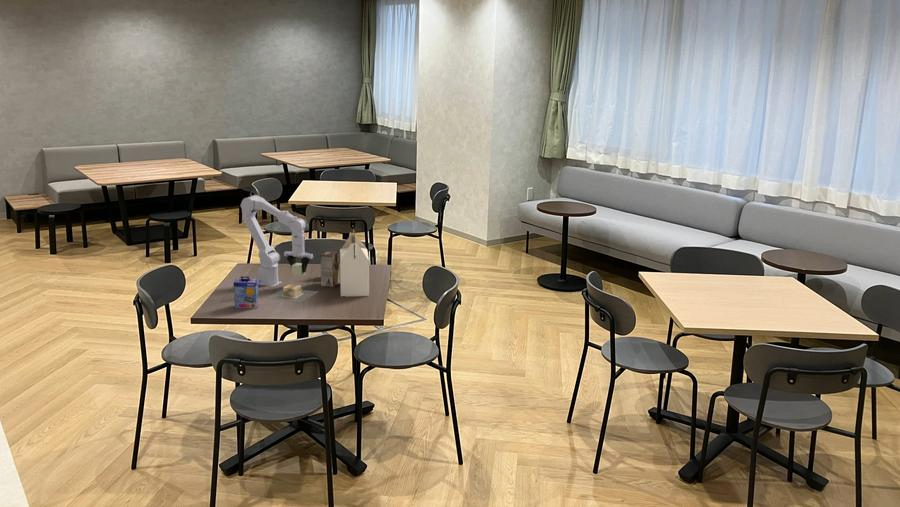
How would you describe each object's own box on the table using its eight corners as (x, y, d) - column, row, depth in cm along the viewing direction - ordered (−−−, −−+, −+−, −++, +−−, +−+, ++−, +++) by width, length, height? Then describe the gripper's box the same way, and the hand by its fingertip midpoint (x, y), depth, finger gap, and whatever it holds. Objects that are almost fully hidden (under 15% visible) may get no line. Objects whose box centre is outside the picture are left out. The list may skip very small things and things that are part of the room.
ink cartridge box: (234, 308, 327) (232, 277, 323) (236, 304, 332) (235, 273, 328) (257, 308, 328) (255, 277, 324) (259, 304, 333) (257, 273, 329)
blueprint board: (265, 299, 340) (265, 297, 340) (285, 288, 357) (285, 287, 357) (300, 304, 335) (300, 302, 335) (318, 292, 352) (318, 291, 352)
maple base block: (283, 295, 344) (283, 287, 343) (289, 292, 350) (289, 284, 349) (295, 297, 342) (294, 289, 341) (301, 293, 348) (301, 285, 347)
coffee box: (327, 281, 370) (326, 250, 366) (339, 282, 369) (339, 251, 365) (320, 286, 361) (320, 254, 357) (333, 287, 360) (332, 255, 356)
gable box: (340, 283, 368) (339, 227, 361) (367, 282, 370) (367, 227, 363) (340, 296, 347) (339, 238, 340) (369, 296, 349) (368, 238, 342)
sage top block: (291, 275, 357) (291, 265, 356) (296, 272, 362) (296, 262, 360) (301, 276, 356) (300, 266, 354) (306, 273, 360) (305, 263, 359)
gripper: (315, 243, 357) (316, 271, 360) (288, 240, 361) (289, 267, 364) (308, 247, 350) (309, 274, 353) (281, 244, 354) (282, 271, 357)
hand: (298, 271), depth 358 cm, fingers closed on sage top block, 5 cm apart
